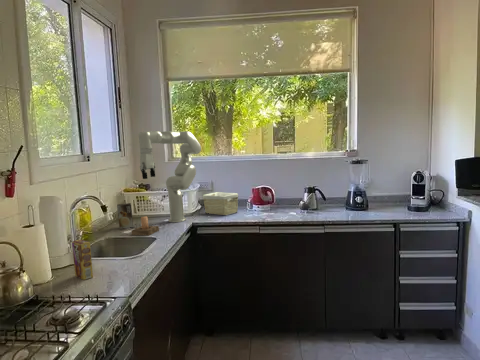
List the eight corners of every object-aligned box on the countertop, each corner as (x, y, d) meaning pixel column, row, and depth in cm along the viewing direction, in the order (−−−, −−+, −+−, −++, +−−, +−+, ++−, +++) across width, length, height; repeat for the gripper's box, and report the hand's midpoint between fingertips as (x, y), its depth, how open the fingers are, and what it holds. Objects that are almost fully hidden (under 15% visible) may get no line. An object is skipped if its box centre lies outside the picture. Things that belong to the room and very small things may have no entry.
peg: (144, 232, 234) (143, 216, 233) (150, 232, 232) (148, 216, 232) (141, 233, 230) (139, 217, 229) (146, 233, 229) (145, 217, 228)
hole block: (142, 230, 239) (142, 225, 238) (159, 230, 235) (158, 226, 235) (131, 235, 227) (131, 230, 227) (148, 235, 224) (148, 230, 223)
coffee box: (133, 225, 255) (131, 202, 253) (133, 227, 249) (131, 204, 247) (119, 227, 252) (117, 204, 251) (119, 229, 246) (116, 205, 245)
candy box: (94, 277, 156) (90, 241, 154) (84, 280, 153) (80, 244, 151) (84, 273, 162) (81, 238, 160) (74, 276, 159) (71, 241, 157)
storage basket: (203, 213, 284) (201, 194, 283) (218, 209, 296) (217, 191, 295) (225, 216, 268) (223, 196, 266) (240, 212, 280) (239, 193, 278)
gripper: (148, 150, 247) (150, 176, 249) (133, 152, 231) (136, 179, 233) (158, 150, 245) (160, 175, 247) (144, 152, 228) (147, 179, 231)
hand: (149, 177), depth 240 cm, fingers open, 9 cm apart
